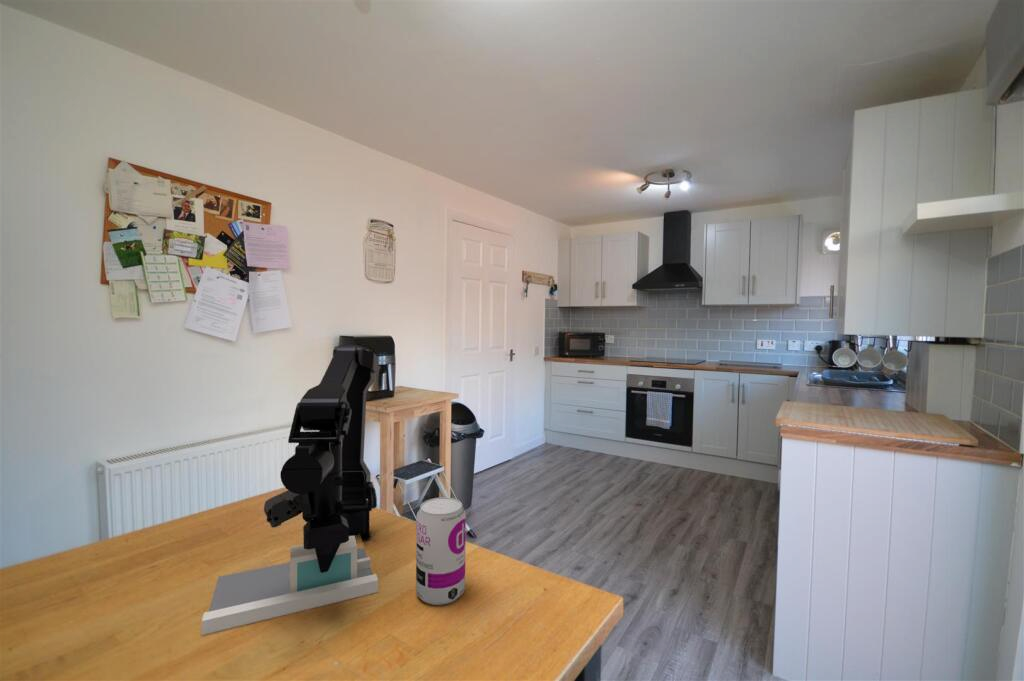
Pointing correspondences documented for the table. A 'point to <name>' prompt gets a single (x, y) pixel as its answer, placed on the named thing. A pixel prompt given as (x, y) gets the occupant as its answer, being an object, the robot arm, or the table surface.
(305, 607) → the shelf board
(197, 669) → the table surface
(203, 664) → the table surface
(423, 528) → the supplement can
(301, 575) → the carton
